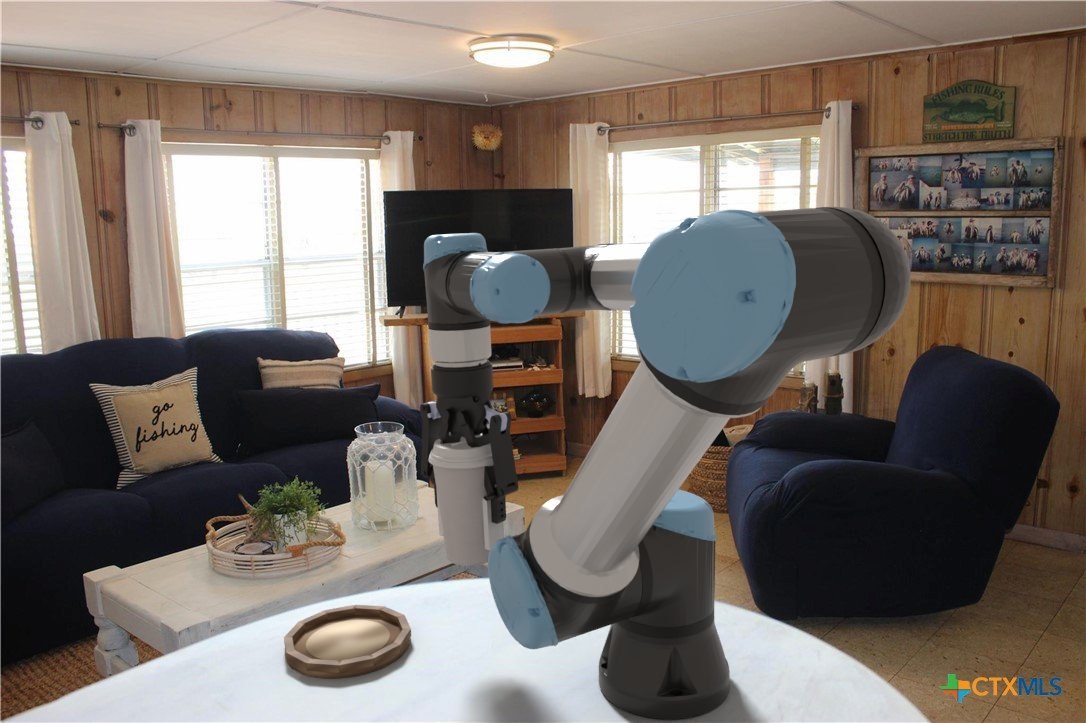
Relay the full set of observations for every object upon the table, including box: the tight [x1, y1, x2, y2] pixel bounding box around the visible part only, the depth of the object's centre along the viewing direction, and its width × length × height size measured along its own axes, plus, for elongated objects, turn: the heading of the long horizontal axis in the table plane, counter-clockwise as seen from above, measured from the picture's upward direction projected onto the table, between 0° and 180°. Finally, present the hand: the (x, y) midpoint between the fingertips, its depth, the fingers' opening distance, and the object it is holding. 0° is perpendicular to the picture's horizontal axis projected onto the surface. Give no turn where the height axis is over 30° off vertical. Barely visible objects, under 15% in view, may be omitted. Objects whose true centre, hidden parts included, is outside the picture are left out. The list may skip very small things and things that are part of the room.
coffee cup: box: [429, 433, 497, 567], centre depth 112 cm, size 10×10×15 cm
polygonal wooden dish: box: [283, 604, 412, 680], centre depth 116 cm, size 16×16×2 cm
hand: (471, 539), depth 113 cm, fingers closed on coffee cup, 7 cm apart
